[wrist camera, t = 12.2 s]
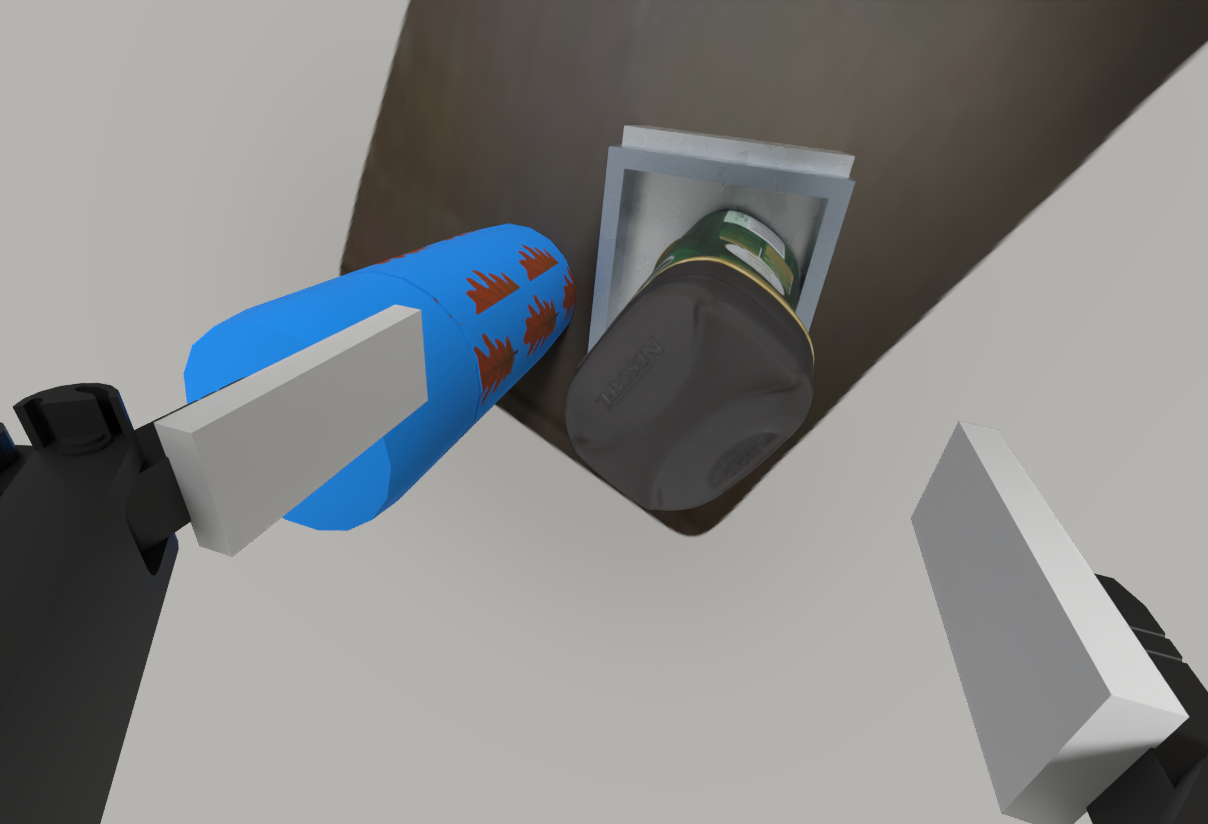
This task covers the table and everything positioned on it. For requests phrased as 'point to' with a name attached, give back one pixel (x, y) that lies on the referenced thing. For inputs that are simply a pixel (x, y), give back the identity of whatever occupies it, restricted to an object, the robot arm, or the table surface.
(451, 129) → the table surface
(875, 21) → the table surface
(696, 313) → the coffee jar
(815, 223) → the open grey metal box
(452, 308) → the thermos
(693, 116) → the table surface
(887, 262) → the table surface
